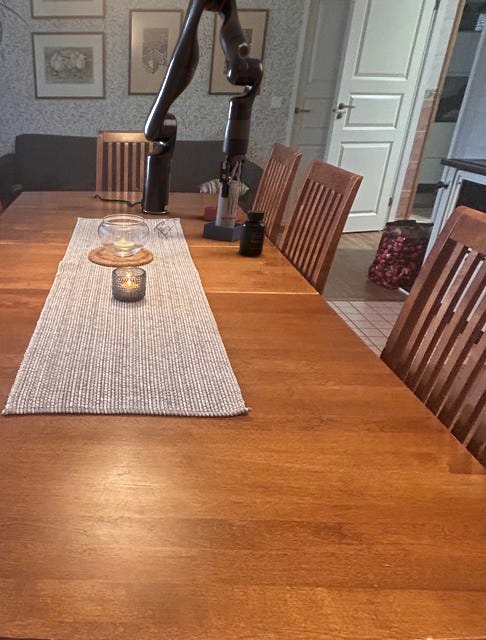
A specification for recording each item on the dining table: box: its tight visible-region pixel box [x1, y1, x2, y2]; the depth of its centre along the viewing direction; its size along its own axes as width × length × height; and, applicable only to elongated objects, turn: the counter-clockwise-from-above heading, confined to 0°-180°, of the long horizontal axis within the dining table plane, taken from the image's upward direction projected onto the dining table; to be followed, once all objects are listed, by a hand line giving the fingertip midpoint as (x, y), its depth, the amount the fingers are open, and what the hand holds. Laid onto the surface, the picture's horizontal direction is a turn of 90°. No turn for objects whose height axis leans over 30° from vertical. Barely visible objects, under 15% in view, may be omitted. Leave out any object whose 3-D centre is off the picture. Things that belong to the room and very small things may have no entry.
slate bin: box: [202, 220, 243, 243], centre depth 193 cm, size 10×10×4 cm
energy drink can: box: [216, 180, 241, 228], centre depth 190 cm, size 6×6×15 cm
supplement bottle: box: [238, 209, 267, 258], centre depth 172 cm, size 7×7×12 cm
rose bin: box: [203, 204, 242, 222], centre depth 220 cm, size 10×10×4 cm
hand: (228, 196), depth 188 cm, fingers closed on energy drink can, 6 cm apart
